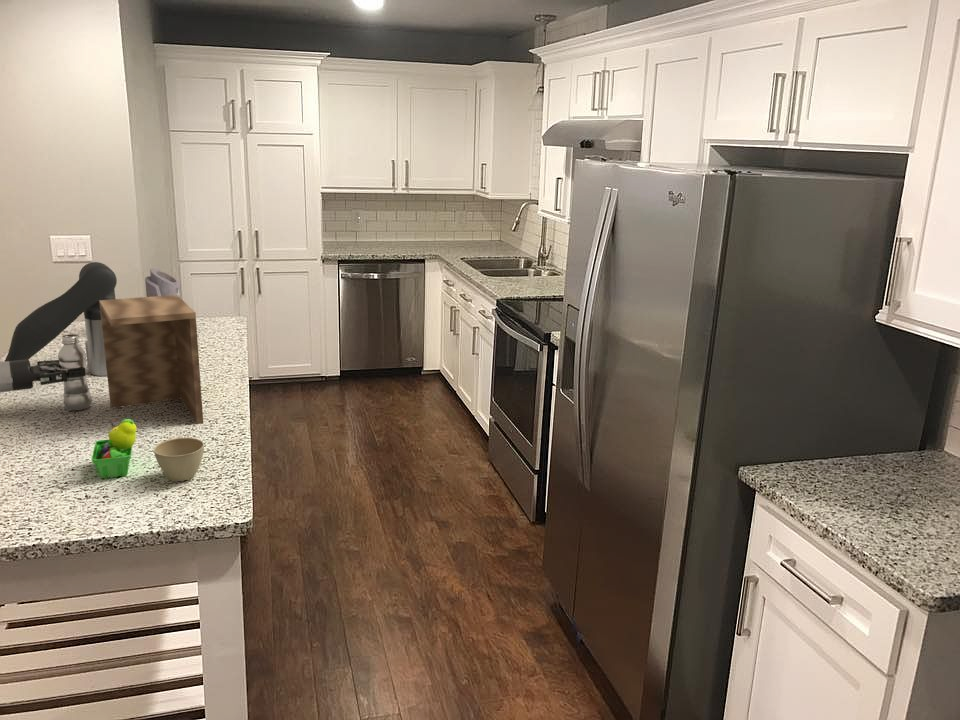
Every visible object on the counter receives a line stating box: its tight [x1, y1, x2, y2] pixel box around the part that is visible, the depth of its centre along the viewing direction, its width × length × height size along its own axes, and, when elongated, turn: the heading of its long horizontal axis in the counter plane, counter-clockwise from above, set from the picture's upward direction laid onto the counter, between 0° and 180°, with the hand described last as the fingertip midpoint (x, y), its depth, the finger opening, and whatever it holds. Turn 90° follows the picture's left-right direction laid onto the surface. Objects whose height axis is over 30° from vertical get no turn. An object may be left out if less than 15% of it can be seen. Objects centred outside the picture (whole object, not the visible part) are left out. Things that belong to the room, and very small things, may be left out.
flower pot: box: [153, 437, 205, 482], centre depth 163 cm, size 10×10×7 cm
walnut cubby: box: [99, 295, 204, 425], centre depth 195 cm, size 19×23×29 cm
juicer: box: [144, 268, 182, 299], centre depth 271 cm, size 30×16×24 cm, turn 98°
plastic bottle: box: [57, 333, 93, 411], centre depth 198 cm, size 6×7×20 cm
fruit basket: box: [91, 418, 137, 479], centre depth 165 cm, size 11×9×11 cm
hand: (84, 367), depth 199 cm, fingers closed on plastic bottle, 6 cm apart
